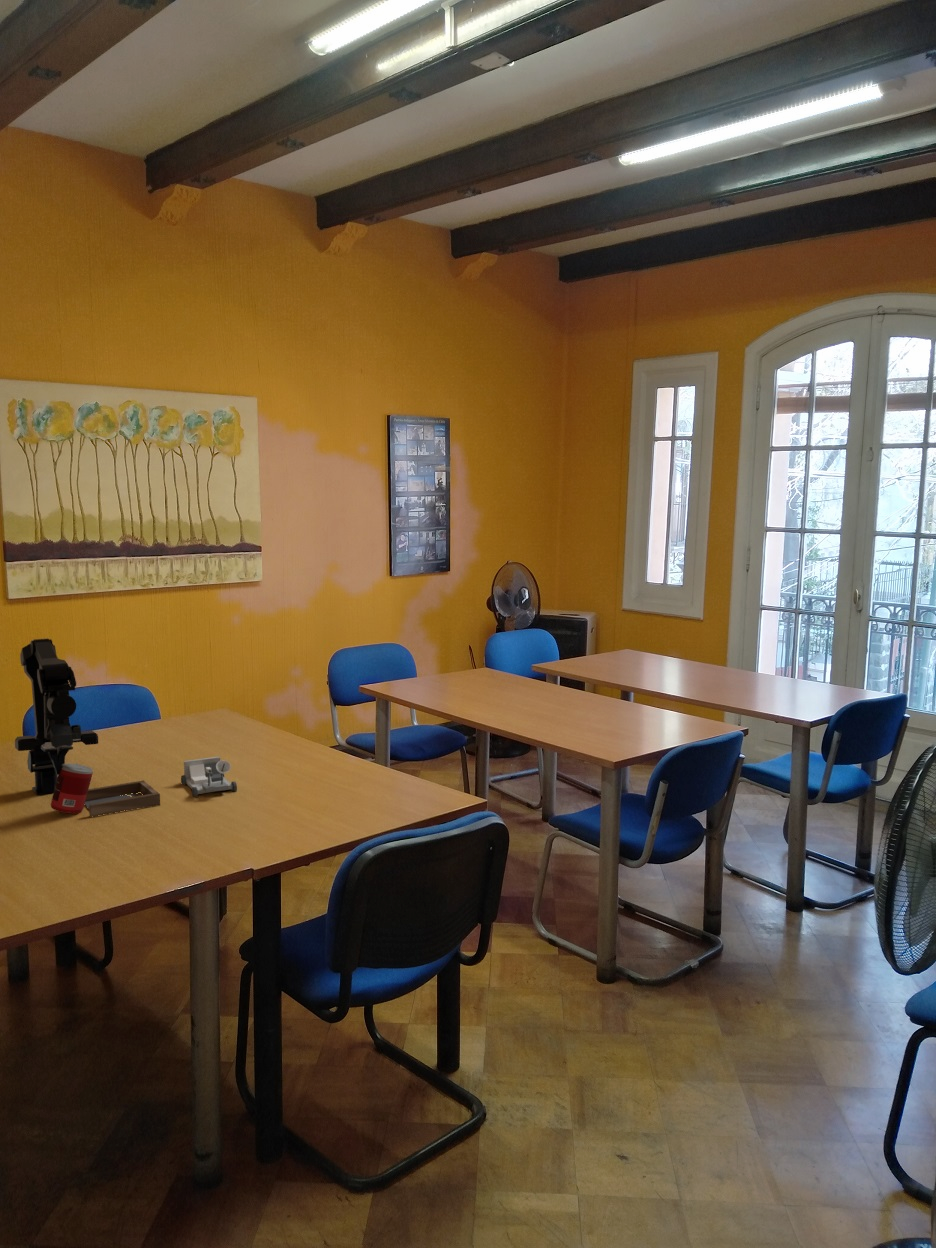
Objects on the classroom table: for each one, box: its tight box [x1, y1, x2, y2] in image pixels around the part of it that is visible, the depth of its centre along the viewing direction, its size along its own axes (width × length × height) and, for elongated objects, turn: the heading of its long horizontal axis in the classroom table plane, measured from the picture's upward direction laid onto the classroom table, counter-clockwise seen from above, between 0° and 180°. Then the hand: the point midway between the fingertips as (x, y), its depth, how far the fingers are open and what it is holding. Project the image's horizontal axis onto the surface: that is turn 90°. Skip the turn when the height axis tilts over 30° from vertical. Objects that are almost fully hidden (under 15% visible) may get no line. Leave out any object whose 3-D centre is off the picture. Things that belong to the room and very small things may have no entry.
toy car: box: [180, 756, 238, 798], centre depth 263 cm, size 18×10×12 cm
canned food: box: [50, 762, 94, 814], centre depth 242 cm, size 8×8×11 cm
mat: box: [84, 793, 141, 811], centre depth 249 cm, size 11×14×1 cm
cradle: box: [85, 779, 161, 818], centre depth 250 cm, size 14×17×3 cm
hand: (57, 774), depth 239 cm, fingers closed
